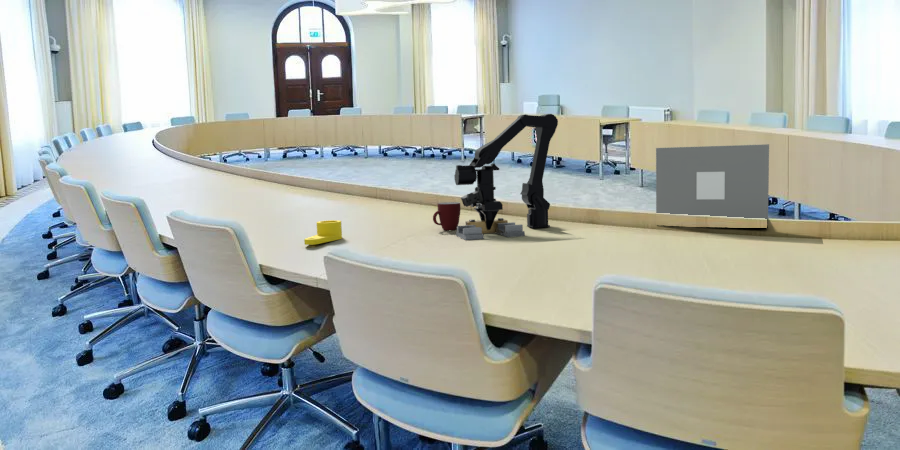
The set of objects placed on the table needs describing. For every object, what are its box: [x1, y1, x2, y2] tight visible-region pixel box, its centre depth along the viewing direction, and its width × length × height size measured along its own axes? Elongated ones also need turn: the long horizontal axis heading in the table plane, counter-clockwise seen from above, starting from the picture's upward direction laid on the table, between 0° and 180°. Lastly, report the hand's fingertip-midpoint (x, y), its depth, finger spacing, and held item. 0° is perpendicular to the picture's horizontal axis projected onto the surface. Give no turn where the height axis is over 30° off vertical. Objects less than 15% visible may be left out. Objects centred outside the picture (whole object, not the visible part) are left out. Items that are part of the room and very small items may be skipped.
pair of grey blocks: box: [455, 221, 526, 241], centre depth 229 cm, size 20×12×4 cm, turn 104°
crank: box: [303, 219, 343, 246], centre depth 233 cm, size 18×8×6 cm, turn 159°
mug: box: [432, 201, 461, 231], centre depth 244 cm, size 11×8×10 cm
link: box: [465, 217, 509, 234], centre depth 239 cm, size 14×4×5 cm, turn 98°
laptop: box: [655, 143, 770, 220], centre depth 240 cm, size 35×26×27 cm
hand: (486, 229), depth 239 cm, fingers closed on link, 4 cm apart
